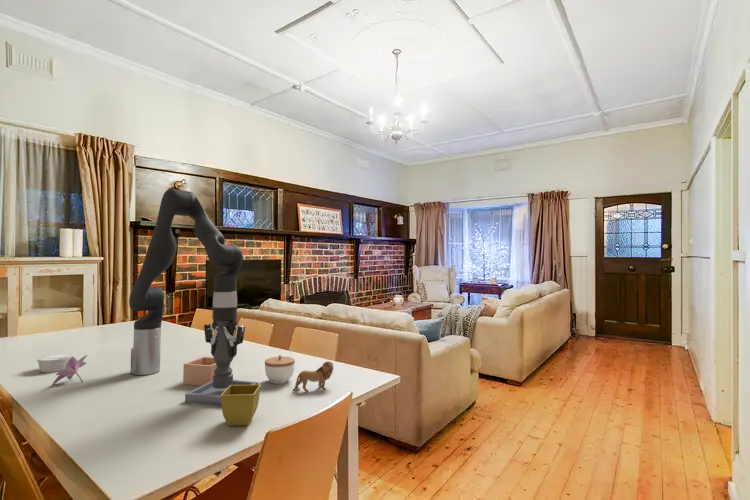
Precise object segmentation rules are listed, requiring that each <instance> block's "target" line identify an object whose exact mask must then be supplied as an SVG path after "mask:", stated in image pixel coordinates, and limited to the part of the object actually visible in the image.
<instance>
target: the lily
mask: <svg viewBox="0 0 750 500" xmlns="http://www.w3.org/2000/svg"><path fill="white" fill-rule="evenodd" d="M87 357H88V354H86V355H85V356H82V357H81V358H80V359H78V360H77V358H76V357H75V356H74V357H71V358H70V359H69V360H68V362H67V364H66V367H65V369H63V370H61V371H59V372H56V374H55V375H56V376H57V377H56V378H55V380H54V381H53V382H52V385H51V386H53V385H55V384H56V383H58V382H59V381H61V380H62V379H64V378H67V379H68V380H72V378H73V376H74V375H77V377H78V378H79V379H80V381H81V383H84V381H83V379H82V378H81V376H80V375H79V373H78V372H79V368H81V367H83V366H85V365H86V364H87V362H86V361H84V360H85V359H86V358H87Z"/></svg>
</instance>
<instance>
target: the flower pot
mask: <svg viewBox="0 0 750 500" xmlns="http://www.w3.org/2000/svg"><path fill="white" fill-rule="evenodd" d="M260 394H261V384H258V385H230V386H229V387H228V388H227V389H226V390H225V391H224V392H223V393H222V394H221V404H222V406H221V411H222V412H221V413H222V415H223V416H222V417H223V418H224V420H225V422H226V423H227V425H228V426H231V427H236V426H249V424H250V423H251V421H252V420H253V418H254V415H255V413H256V411H257V409H258V406H259V401H260Z"/></svg>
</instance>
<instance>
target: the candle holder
mask: <svg viewBox="0 0 750 500" xmlns="http://www.w3.org/2000/svg"><path fill="white" fill-rule="evenodd" d="M216 322H217V325H218V326H219V327H218V328H216V330H217V331H218V342H217V346H216V350H215V353H214V356H213V357H214V362H215V363H216V366H217V368H216V369H215V370H214V374H215V375H214V376H213V388H216V389H224V388H228V387H229V386H230V385H233V380H234V373H233V368H232V367H231V363H232V362H233V360H234V357H233V358H230V346H231V345H230V342H229V340H227V337H226V335H225V332H224V331H225V329H224V328H223V327H225V326H226V325H227V323H228V321H216Z"/></svg>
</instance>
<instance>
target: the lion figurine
mask: <svg viewBox="0 0 750 500" xmlns="http://www.w3.org/2000/svg"><path fill="white" fill-rule="evenodd" d="M334 369H335V368H334V363H333V362H331V361H328V360H326V361H325V362H323V363H322V365H321V366H320V367H319V368H317V369H316V370H306V369H305V370H302V371H301V372H299V374H298V375H297V377H296V382H295V386H294V388H293V389H292V392H295V391H300V389H301V388H300V387H299V386H300V385H301V384H302V389H303V390H304V392H305V393H309V389H307V387H306V386H307V384H308V382H309V381H310V382H313V383H317V382H318V388H320V389H322V390H323V391H326V390H327V388H326V387H325V384H326V381H327V380H329V379H330V378H331V376H332V374H333V372H334Z"/></svg>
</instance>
